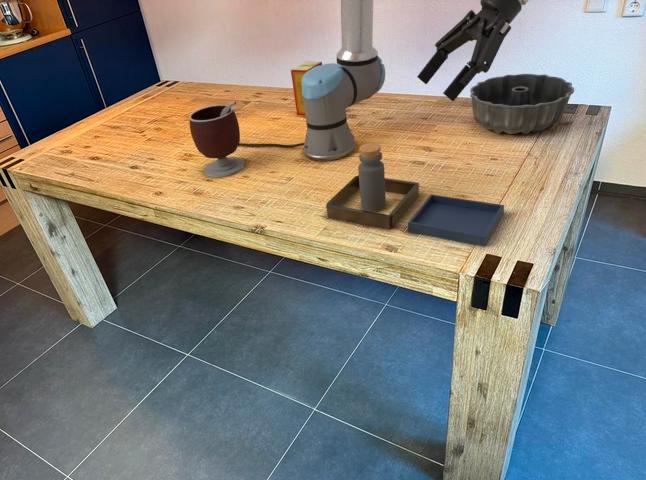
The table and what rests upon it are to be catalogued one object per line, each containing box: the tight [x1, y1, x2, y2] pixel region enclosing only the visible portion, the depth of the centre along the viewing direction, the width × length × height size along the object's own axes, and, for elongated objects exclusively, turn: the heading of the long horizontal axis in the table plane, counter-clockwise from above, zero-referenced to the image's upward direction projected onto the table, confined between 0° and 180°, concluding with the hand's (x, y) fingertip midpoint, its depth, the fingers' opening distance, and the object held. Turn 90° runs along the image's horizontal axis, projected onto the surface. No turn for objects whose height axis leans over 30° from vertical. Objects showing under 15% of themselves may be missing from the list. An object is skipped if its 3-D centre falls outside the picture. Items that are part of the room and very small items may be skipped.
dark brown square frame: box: [325, 174, 420, 230], centre depth 120 cm, size 17×17×3 cm
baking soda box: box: [290, 61, 323, 117], centre depth 177 cm, size 10×6×16 cm
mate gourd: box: [188, 101, 245, 178], centre depth 147 cm, size 16×14×20 cm
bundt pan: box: [469, 73, 575, 135], centre depth 143 cm, size 26×26×10 cm
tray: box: [407, 193, 505, 247], centre depth 109 cm, size 16×13×2 cm
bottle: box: [357, 142, 387, 213], centre depth 116 cm, size 6×6×15 cm
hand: (433, 88), depth 107 cm, fingers open, 13 cm apart
